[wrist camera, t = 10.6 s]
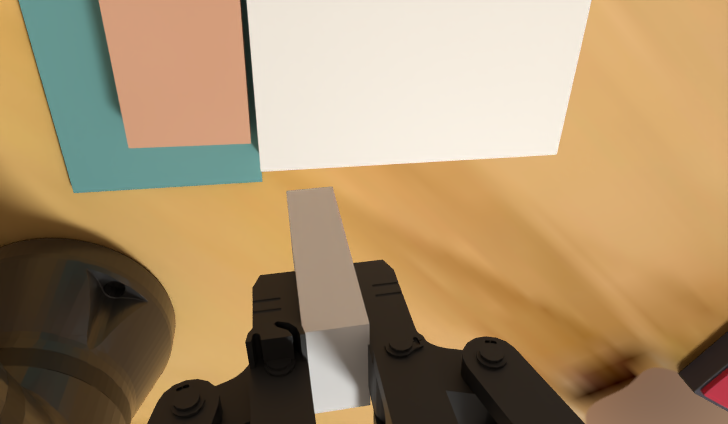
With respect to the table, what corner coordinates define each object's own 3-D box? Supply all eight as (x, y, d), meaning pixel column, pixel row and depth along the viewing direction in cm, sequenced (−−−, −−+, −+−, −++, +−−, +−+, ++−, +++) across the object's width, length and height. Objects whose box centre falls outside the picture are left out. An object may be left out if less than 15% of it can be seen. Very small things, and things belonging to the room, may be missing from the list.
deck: (536, 137, 40) (556, 154, 37) (259, 151, 36) (260, 171, 34) (580, -80, 32) (608, -77, 30) (240, -87, 29) (239, -84, 27)
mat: (261, 178, 37) (262, 181, 37) (75, 189, 35) (73, 192, 35) (237, -130, 28) (236, -131, 28) (-18, -139, 26) (-22, -139, 26)
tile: (250, 127, 35) (250, 143, 33) (136, 131, 34) (128, 148, 32) (237, -43, 30) (236, -38, 28) (102, -46, 29) (90, -40, 26)
